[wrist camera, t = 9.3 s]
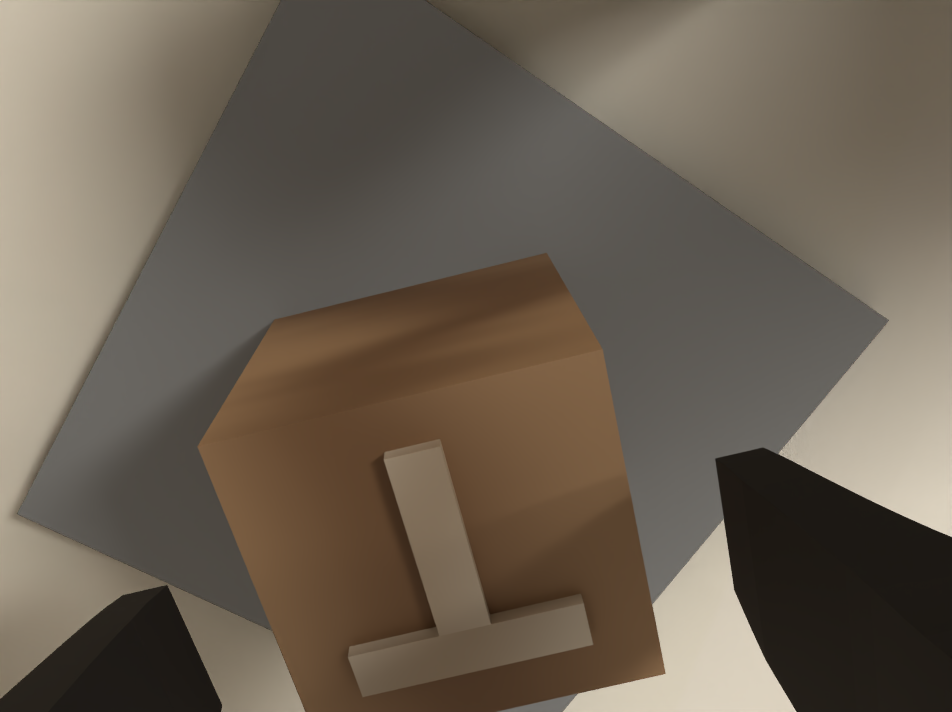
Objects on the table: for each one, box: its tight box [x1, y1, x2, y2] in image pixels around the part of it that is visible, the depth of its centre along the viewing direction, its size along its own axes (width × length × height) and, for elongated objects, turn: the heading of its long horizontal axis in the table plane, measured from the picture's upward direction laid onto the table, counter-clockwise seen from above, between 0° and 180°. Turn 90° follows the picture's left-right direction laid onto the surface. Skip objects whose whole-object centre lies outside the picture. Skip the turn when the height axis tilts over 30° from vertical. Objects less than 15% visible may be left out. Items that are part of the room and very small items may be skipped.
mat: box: [17, 0, 889, 712], centre depth 15 cm, size 12×12×1 cm
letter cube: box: [197, 253, 665, 712], centre depth 13 cm, size 5×5×5 cm
